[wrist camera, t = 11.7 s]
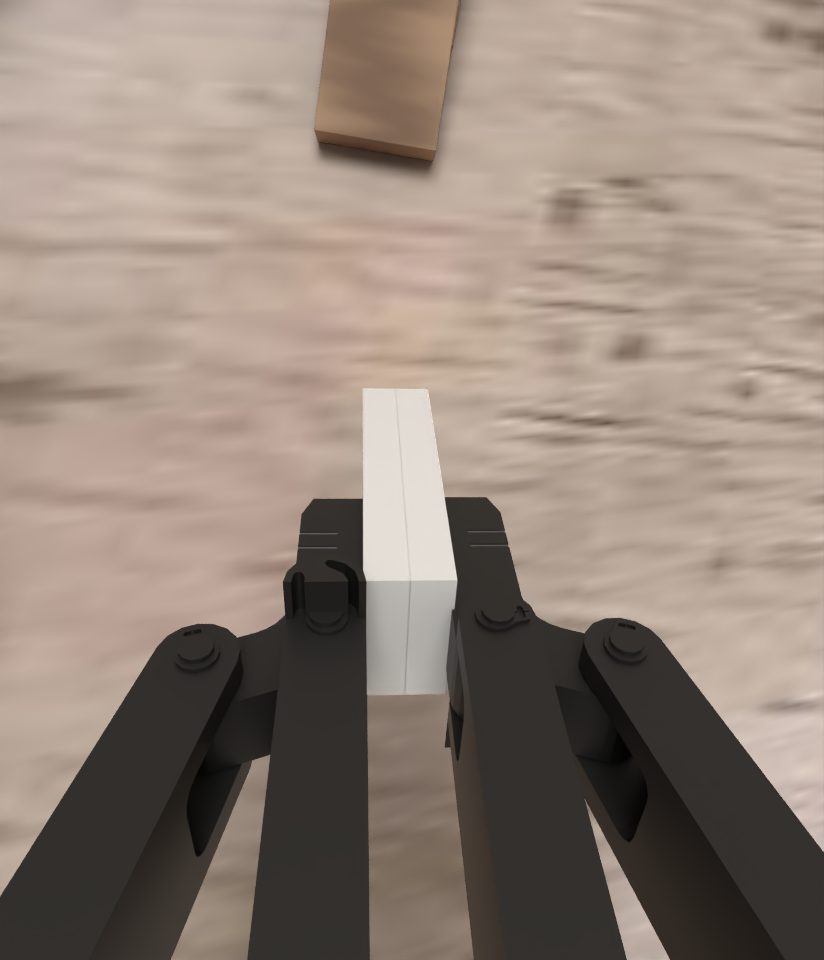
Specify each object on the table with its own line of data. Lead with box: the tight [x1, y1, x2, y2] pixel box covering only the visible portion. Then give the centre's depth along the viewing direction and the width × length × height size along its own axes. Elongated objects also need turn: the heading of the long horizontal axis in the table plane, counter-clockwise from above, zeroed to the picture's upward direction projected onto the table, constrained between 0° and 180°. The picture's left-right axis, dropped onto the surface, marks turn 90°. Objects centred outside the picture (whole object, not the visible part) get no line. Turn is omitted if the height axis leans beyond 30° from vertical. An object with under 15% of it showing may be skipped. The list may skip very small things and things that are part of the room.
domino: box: [314, 0, 458, 161], centre depth 31 cm, size 5×2×10 cm
